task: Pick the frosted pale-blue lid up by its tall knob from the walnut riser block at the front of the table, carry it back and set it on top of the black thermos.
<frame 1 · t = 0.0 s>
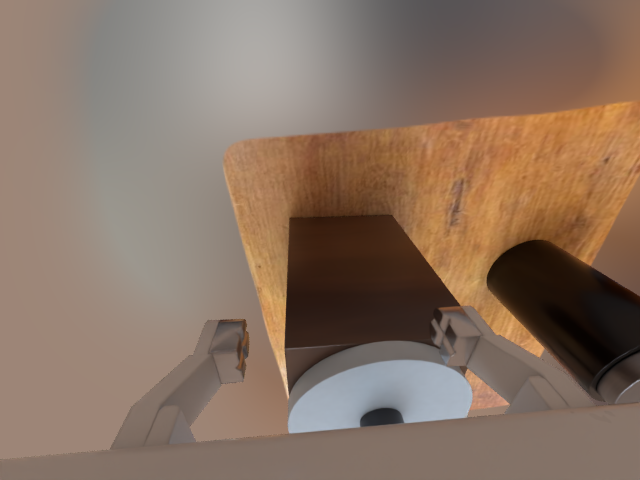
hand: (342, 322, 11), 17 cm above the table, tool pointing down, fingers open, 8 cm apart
lid: (375, 398, 17), point 16 cm above the table, touching riser
thermos: (522, 270, 34), on the table
riser: (339, 259, 31), on the table
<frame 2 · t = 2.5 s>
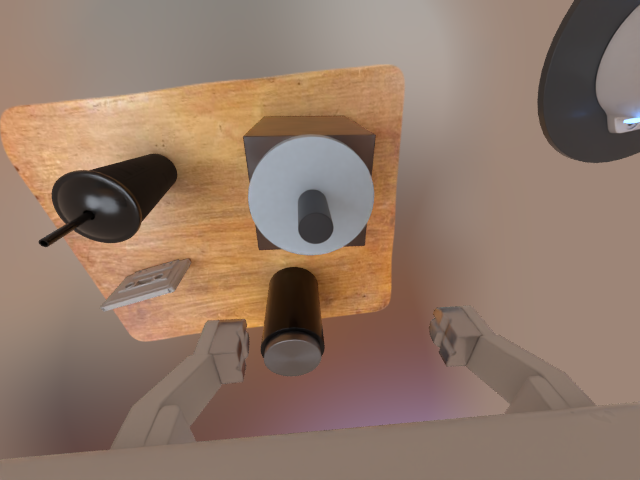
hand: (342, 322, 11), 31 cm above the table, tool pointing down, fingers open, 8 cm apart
lid: (311, 198, 25), point 16 cm above the table, touching riser
thermos: (293, 286, 50), on the table
drinking cup: (159, 170, 38), on the table
riser: (305, 157, 38), on the table
cassette: (159, 268, 46), on the table
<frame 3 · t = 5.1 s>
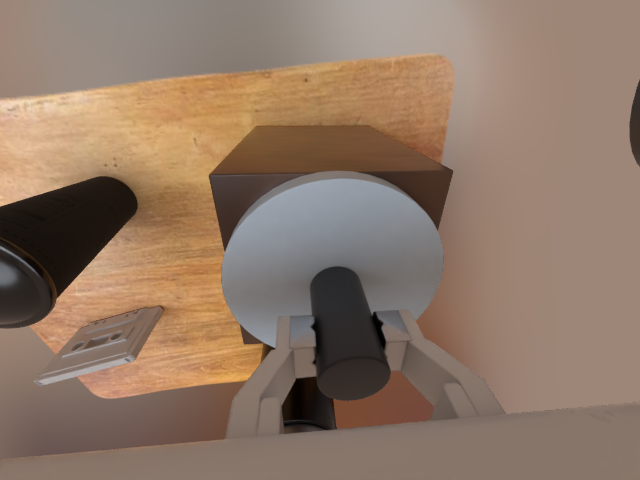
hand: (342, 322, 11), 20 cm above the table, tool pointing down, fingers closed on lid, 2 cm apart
lid: (332, 272, 14), point 16 cm above the table, touching gripper, riser
thermos: (294, 335, 40), on the table
drinking cup: (113, 198, 28), on the table
riser: (313, 181, 28), on the table
cassette: (123, 317, 36), on the table
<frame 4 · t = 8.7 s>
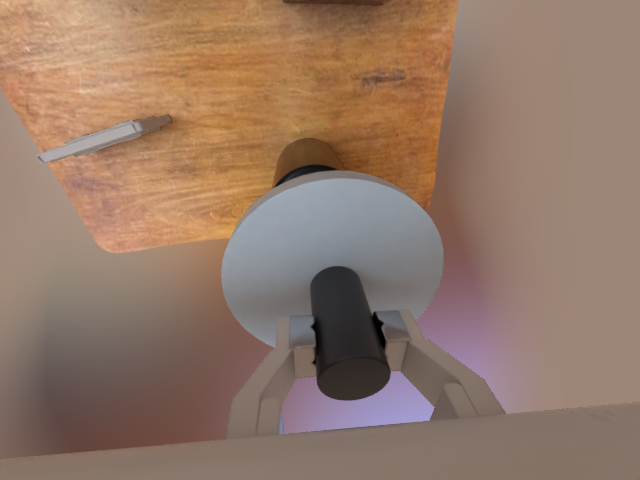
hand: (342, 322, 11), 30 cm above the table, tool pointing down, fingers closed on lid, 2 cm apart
lid: (332, 271, 14), point 26 cm above the table, touching gripper
thermos: (308, 171, 38), on the table
cassette: (129, 131, 34), on the table
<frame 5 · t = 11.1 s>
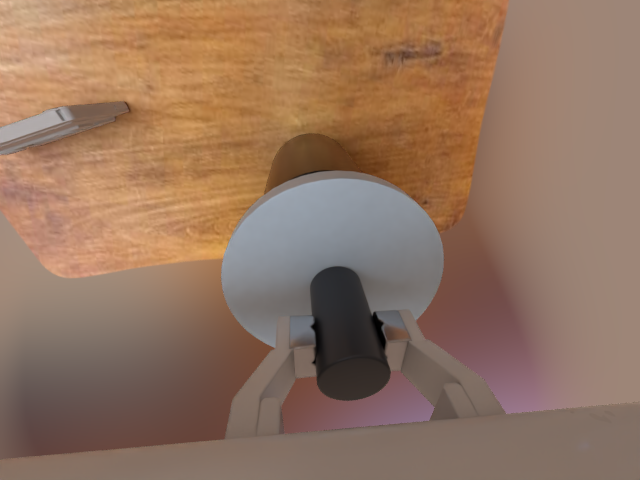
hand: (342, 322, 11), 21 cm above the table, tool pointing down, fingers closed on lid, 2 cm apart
lid: (332, 272, 14), point 18 cm above the table, touching gripper
thermos: (312, 176, 30), on the table
cassette: (73, 124, 25), on the table
when the fingers open (19 cm above the table, at t = 12.4 s): lid stays where it is, resting on thermos.
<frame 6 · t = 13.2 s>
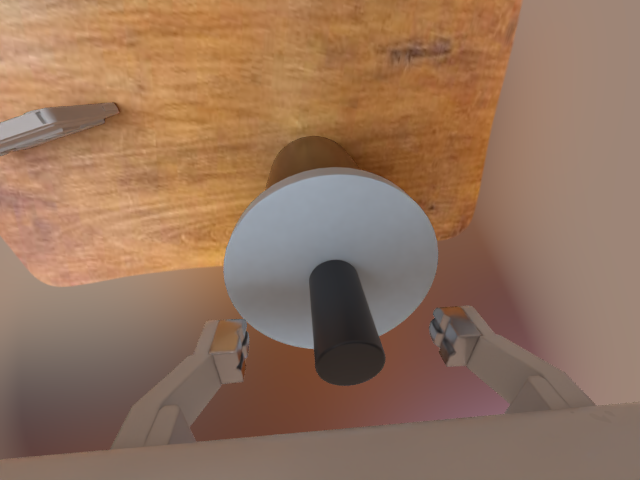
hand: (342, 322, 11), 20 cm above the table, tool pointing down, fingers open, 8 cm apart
lid: (330, 266, 15), point 15 cm above the table, touching thermos
thermos: (313, 181, 28), on the table
cassette: (60, 127, 24), on the table
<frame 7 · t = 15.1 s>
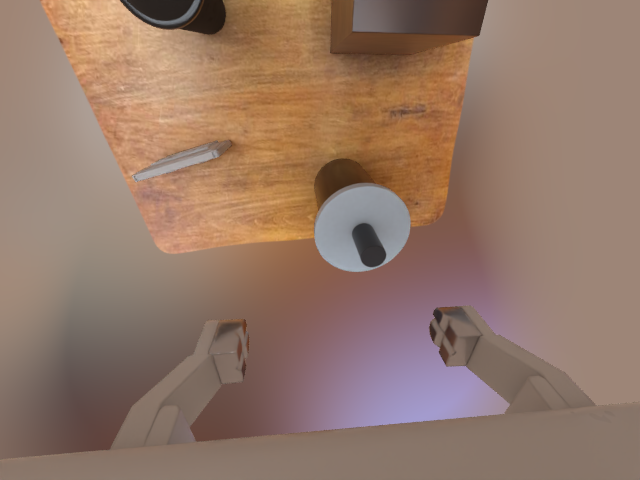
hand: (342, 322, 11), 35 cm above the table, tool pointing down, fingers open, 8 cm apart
lid: (360, 228, 32), point 15 cm above the table, touching thermos
thermos: (341, 186, 45), on the table
drinking cup: (205, 10, 32), on the table
riser: (375, 0, 33), on the table
cassette: (195, 153, 41), on the table
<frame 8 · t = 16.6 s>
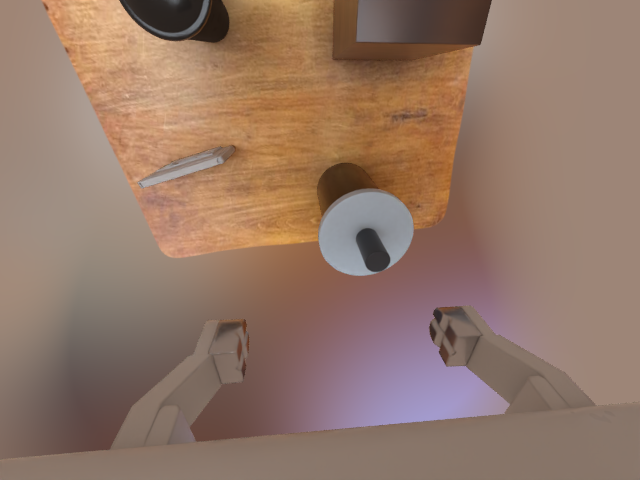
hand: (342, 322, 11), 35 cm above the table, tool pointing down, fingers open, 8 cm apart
lid: (364, 232, 32), point 15 cm above the table, touching thermos
thermos: (343, 189, 45), on the table
drinking cup: (209, 19, 33), on the table
riser: (376, 7, 33), on the table
cassette: (198, 158, 41), on the table
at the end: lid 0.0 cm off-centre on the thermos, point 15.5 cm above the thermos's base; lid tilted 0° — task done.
